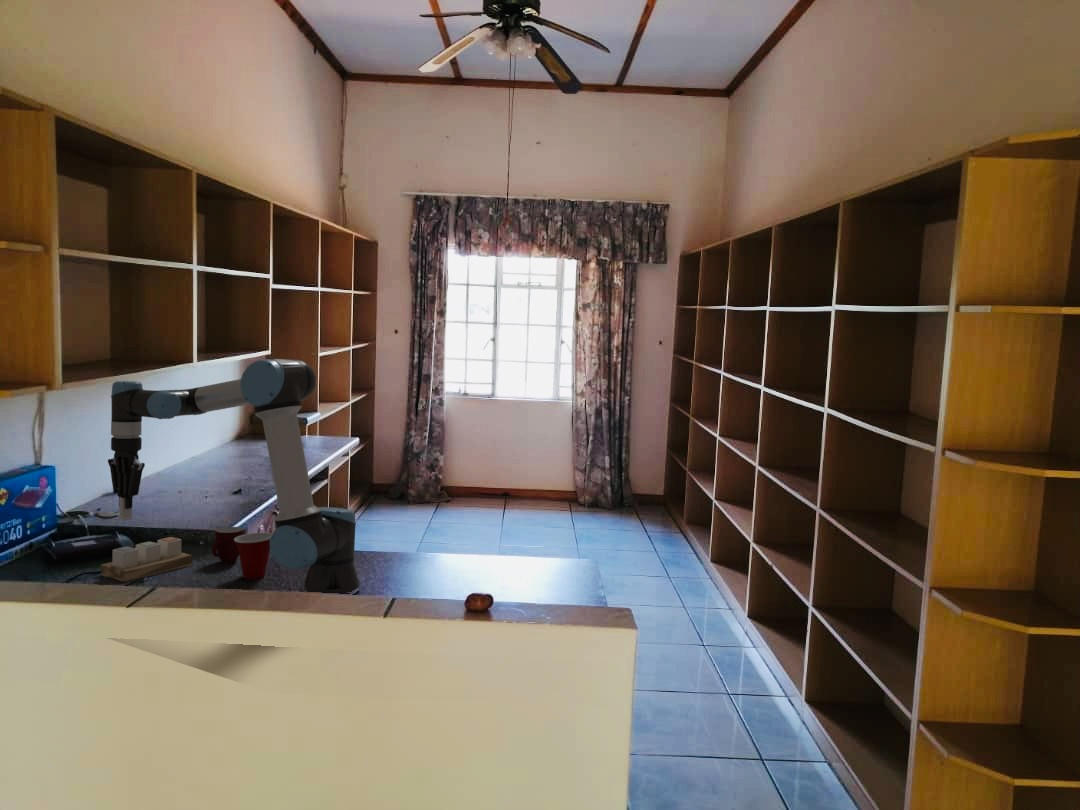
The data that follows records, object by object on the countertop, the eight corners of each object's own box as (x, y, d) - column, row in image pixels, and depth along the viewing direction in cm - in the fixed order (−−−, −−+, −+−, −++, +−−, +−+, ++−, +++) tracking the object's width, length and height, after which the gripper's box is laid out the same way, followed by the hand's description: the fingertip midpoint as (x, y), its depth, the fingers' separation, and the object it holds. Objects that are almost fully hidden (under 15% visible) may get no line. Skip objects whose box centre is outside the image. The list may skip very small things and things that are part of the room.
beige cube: (181, 555, 230) (181, 538, 230) (167, 559, 226) (167, 541, 226) (171, 553, 232) (171, 536, 232) (157, 556, 228) (157, 539, 228)
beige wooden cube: (160, 561, 224) (160, 543, 223) (145, 564, 220) (146, 546, 219) (149, 558, 226) (150, 540, 225) (135, 561, 222) (135, 543, 221)
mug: (227, 568, 228) (227, 535, 227) (203, 565, 229) (204, 533, 229) (248, 559, 238) (249, 528, 237) (225, 557, 240) (226, 525, 239)
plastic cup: (240, 570, 226) (240, 530, 226) (277, 571, 227) (278, 531, 226) (227, 581, 216) (228, 539, 215) (266, 582, 216) (267, 540, 216)
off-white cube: (138, 566, 218) (138, 548, 217) (122, 570, 213) (122, 551, 213) (127, 563, 220) (127, 545, 219) (112, 567, 216) (112, 548, 215)
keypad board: (191, 564, 230) (191, 555, 230) (126, 582, 211) (126, 571, 211) (167, 558, 235) (167, 549, 235) (101, 575, 216) (101, 564, 216)
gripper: (154, 437, 214) (152, 520, 216) (124, 433, 220) (123, 514, 222) (128, 439, 208) (127, 525, 209) (98, 435, 214) (98, 518, 215)
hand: (125, 519), depth 216 cm, fingers closed
